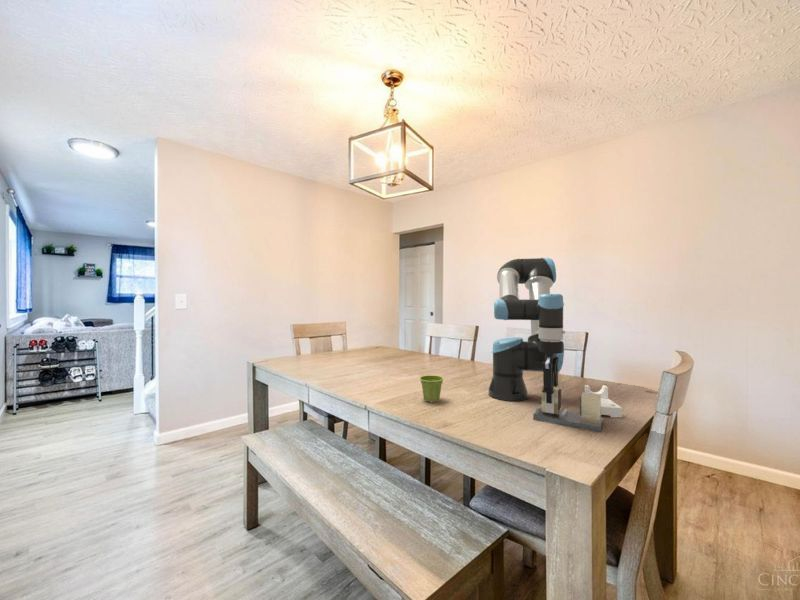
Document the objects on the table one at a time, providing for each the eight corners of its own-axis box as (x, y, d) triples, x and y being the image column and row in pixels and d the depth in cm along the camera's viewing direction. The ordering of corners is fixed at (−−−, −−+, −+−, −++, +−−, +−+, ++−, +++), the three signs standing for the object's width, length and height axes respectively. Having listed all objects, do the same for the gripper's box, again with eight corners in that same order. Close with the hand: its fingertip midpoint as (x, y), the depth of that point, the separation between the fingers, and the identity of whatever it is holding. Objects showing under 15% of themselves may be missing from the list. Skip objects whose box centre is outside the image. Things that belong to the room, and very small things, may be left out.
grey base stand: (533, 419, 111) (533, 390, 111) (540, 410, 119) (540, 383, 119) (600, 432, 100) (600, 400, 100) (602, 421, 109) (602, 392, 109)
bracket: (584, 405, 126) (584, 384, 126) (605, 405, 125) (605, 385, 125) (598, 417, 113) (598, 394, 113) (622, 418, 112) (621, 395, 112)
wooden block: (561, 411, 113) (561, 387, 113) (559, 414, 110) (559, 390, 109) (544, 408, 116) (544, 384, 116) (541, 411, 113) (541, 387, 112)
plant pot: (448, 401, 131) (448, 379, 131) (427, 405, 126) (427, 382, 126) (435, 395, 139) (435, 374, 139) (415, 398, 135) (415, 376, 135)
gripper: (558, 344, 103) (558, 420, 104) (567, 338, 117) (567, 405, 118) (532, 342, 108) (532, 415, 108) (544, 336, 122) (544, 401, 122)
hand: (551, 410), depth 113 cm, fingers closed on wooden block, 4 cm apart
